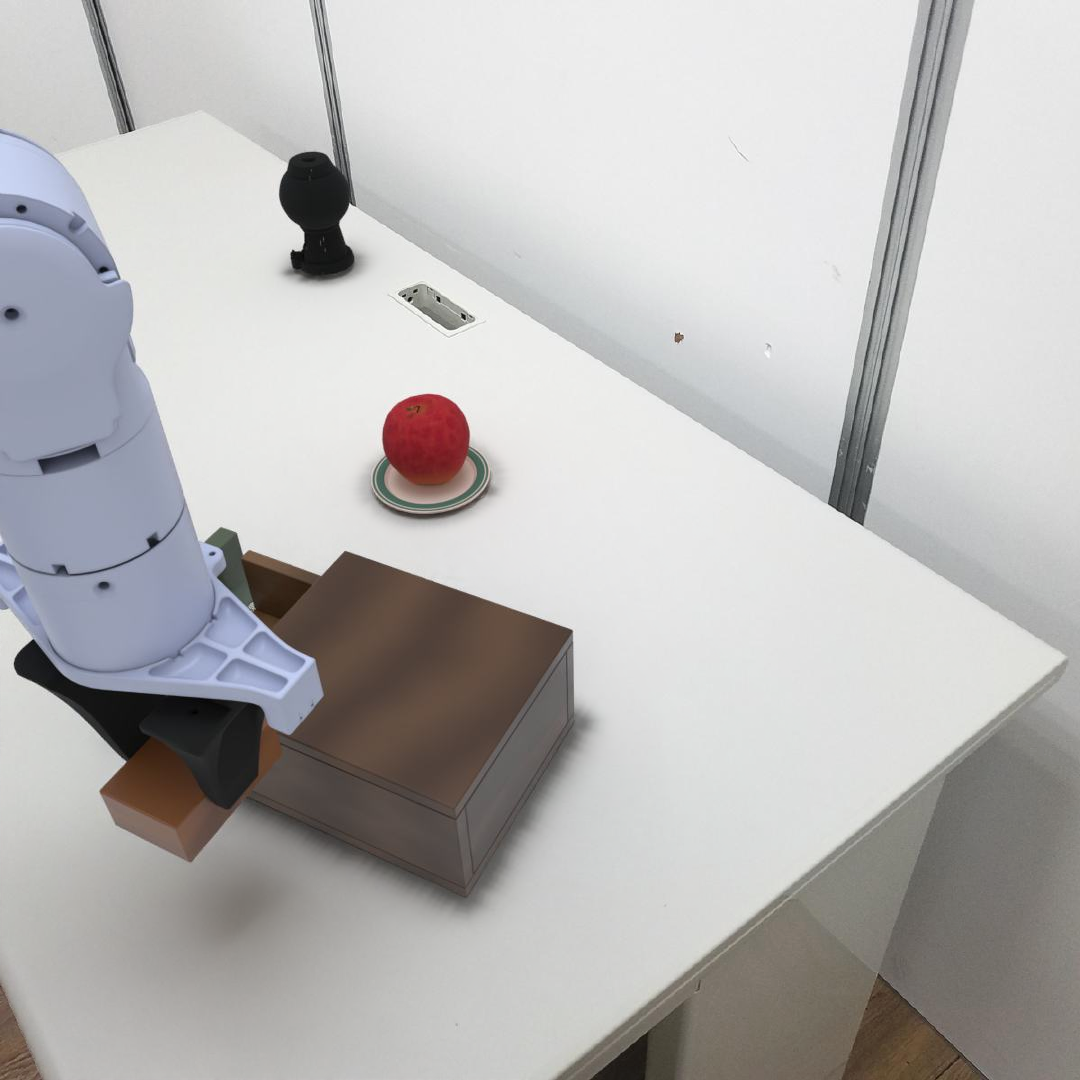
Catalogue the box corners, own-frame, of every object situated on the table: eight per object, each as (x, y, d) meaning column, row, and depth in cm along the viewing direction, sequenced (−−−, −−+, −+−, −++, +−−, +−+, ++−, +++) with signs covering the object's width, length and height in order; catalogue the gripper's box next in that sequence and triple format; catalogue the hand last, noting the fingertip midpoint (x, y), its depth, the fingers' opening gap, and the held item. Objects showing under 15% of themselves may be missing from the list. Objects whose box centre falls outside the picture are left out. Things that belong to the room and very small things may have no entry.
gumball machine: (289, 253, 100) (267, 144, 93) (354, 243, 101) (338, 135, 94) (297, 289, 95) (275, 176, 88) (365, 278, 96) (349, 166, 90)
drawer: (55, 688, 61) (22, 621, 57) (181, 570, 68) (159, 504, 64) (307, 803, 55) (288, 735, 51) (418, 661, 62) (408, 592, 58)
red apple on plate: (364, 520, 72) (350, 439, 68) (379, 445, 78) (366, 367, 74) (487, 518, 72) (481, 436, 68) (492, 443, 78) (487, 364, 74)
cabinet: (235, 791, 57) (202, 700, 52) (362, 640, 64) (344, 549, 59) (466, 898, 52) (454, 809, 47) (574, 721, 59) (573, 629, 55)
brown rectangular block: (191, 864, 44) (175, 829, 42) (114, 825, 45) (97, 790, 44) (283, 753, 48) (273, 717, 46) (211, 721, 49) (198, 685, 48)
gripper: (348, 506, 36) (396, 760, 45) (29, 399, 42) (129, 646, 51) (207, 650, 32) (291, 900, 41) (-132, 509, 37) (9, 759, 46)
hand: (194, 768), depth 45 cm, fingers closed on brown rectangular block, 4 cm apart
